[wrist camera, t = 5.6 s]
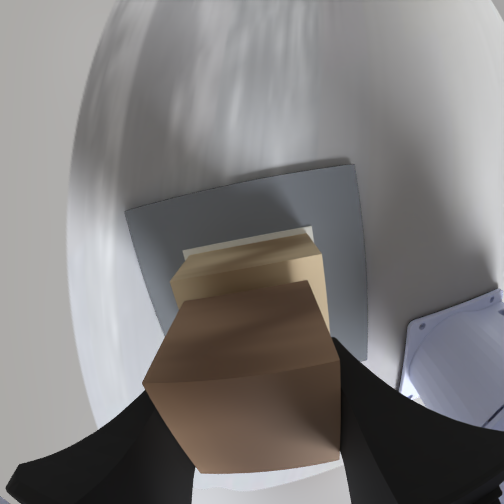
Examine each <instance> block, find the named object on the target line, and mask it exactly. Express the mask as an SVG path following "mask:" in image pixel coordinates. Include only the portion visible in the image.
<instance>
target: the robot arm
mask: <svg viewBox="0 0 504 504" xmlns="http://www.w3.org/2000/svg"><path fill="white" fill-rule="evenodd" d="M502 297H503V291H502V290H501V289H496V290H494V291H491V292H489V293H487V294H484V295H482V296H479V297H477V298H474V299H472V300H469V301H467V302H464V303H461V304H459V305H456V306H453V307H451V308H448V309H445V310H442V311H439V312H437V313H434V314H431V315H428V316H425V317H421V318H418V319H415V320H413V321H411V322H410V324H409V325H408V329H407V339H406V348H405V356H404V363H403V370H402V376H401V382H400V388H399V392H398V391H397V390H395V389H394V388H392V387H391V386H389V385H388V384H387V383H385V382H384V381H383V380H381V379H380V378H379V377H377V376H376V375H375V374H374V373H372V372H371V371H370V370H369V369H368V368H367V367H365V366H364V365H363V364H362V363H361V362H360V361H359V360H357V359H356V358H355V357H354V356H353V355H352V354H351V353H350V352H349V351H348V350H347V349H346V348H345V347H344V346H343V345H342V344H341V343H340V341H339V340H338V339H337V338H335V337H331V338H332V341H333V343H334V346H335V348H336V351H337V354H338V356H339V359H340V379H341V428H340V452H341V455H342V459H343V462H344V466H345V471H346V476H347V481H348V486H349V492H350V498H351V504H504V303H503V302H502ZM422 323H423V324H422ZM421 324H422V325H421ZM420 325H421V326H420ZM419 326H420V327H419ZM418 397H420V398H421V399H422V401H423V403H424V404H425V406H426V407H424V406H422V405H420V404H418V403H416V402H415V401H413V399H415V398H418ZM195 467H196V466H195V465H194V464H193V462H192V461H191V460H190V458H189V457H188V456H187V454H186V453H185V452H184V450H183V449H182V447H181V446H180V444H179V443H178V441H177V440H176V439H175V437H174V436H173V434H172V433H171V431H170V430H169V428H168V426H167V425H166V423H165V422H164V420H163V419H162V417H161V415H160V414H159V412H158V410H157V409H156V407H155V405H154V404H153V402H152V400H151V399H150V397H149V395H148V393H147V392H146V390H145V391H144V392H143V393H142V394H141V395H140V396H139V397H137V398H136V399H135V400H134V401H133V402H132V403H131V404H130V405H129V406H128V407H126V408H125V409H124V410H123V411H122V412H121V413H120V414H119V415H117V416H116V417H115V418H114V419H112V420H111V421H110V422H109V423H107V424H106V425H104V426H103V427H102V428H100V429H99V430H97V431H96V432H94V433H93V434H91V435H89V436H88V437H86V438H84V439H83V440H81V441H79V442H77V443H76V444H74V445H72V446H70V447H68V448H66V449H64V450H61V451H59V452H57V453H54V454H52V455H49V456H46V457H44V458H40V459H37V460H34V461H30V462H27V463H22V464H19V465H18V467H17V469H16V471H15V472H14V474H13V475H12V478H11V479H10V481H9V482H8V484H7V486H6V490H7V492H8V493H9V494H10V495H11V496H12V497H13V498H15V499H16V500H17V501H18V502H19V503H21V504H191V502H192V488H193V478H194V472H195ZM0 504H9V503H8V502H7V501H6V500H5V499H3V498H2V497H1V496H0Z"/></svg>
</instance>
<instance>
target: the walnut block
mask: <svg viewBox="0 0 504 504" xmlns="http://www.w3.org/2000/svg"><path fill="white" fill-rule="evenodd" d="M142 384H143V386H144V388H145V390H146V392H147V393H148V395H149V397H150V399H151V400H152V402H153V404H154V405H155V407H156V409H157V410H158V412H159V414H160V415H161V417H162V419H163V420H164V422H165V423H166V425H167V426H168V428H169V430H170V431H171V433H172V434H173V436H174V437H175V439H176V440H177V441H178V443H179V444H180V446H181V447H182V449H183V450H184V452H185V453H186V454H187V456H188V457H189V458H190V460H191V461H192V462H193V464H194V465H195V466H196V468H197V469H198V470H199V472H200V473H204V474H231V473H253V472H266V471H276V470H285V469H292V468H299V467H305V466H311V465H317V464H322V463H327V462H332V461H336V460H339V456H340V428H341V379H340V359H339V356H338V354H337V351H336V348H335V346H334V343H333V341H332V338H331V336H330V333H329V331H328V328H327V326H326V323H325V321H324V318H323V316H322V313H321V311H320V308H319V306H318V304H317V301H316V299H315V296H314V294H313V292H312V289H311V287H310V284H309V282H308V280H303V281H298V282H293V283H287V284H282V285H277V286H271V287H266V288H260V289H254V290H249V291H243V292H237V293H231V294H225V295H219V296H213V297H206V298H200V299H194V300H187V301H184V302H183V304H182V305H181V307H180V309H179V311H178V313H177V315H176V317H175V319H174V321H173V323H172V325H171V326H170V328H169V330H168V332H167V334H166V336H165V338H164V340H163V342H162V344H161V346H160V348H159V350H158V352H157V354H156V356H155V358H154V360H153V362H152V364H151V366H150V368H149V370H148V372H147V374H146V376H145V378H144V380H143V382H142Z"/></svg>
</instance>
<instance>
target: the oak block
mask: <svg viewBox="0 0 504 504" xmlns="http://www.w3.org/2000/svg"><path fill="white" fill-rule="evenodd" d="M303 280H308V282H309V284H310V287H311V289H312V292H313V294H314V296H315V299H316V301H317V304H318V306H319V308H320V311H321V313H322V316H323V318H324V321H325V323H326V326H327V328H328V331H329V333H330V327H329V315H328V304H327V294H326V285H325V276H324V267H323V259H322V253H321V252H320V251H319V249H318V248H317V246H316V245H315V244H314V242H313V241H312V240H311V238H310V237H309V235H308V234H307V233H304V234H299V235H293V236H288V237H283V238H277V239H272V240H267V241H261V242H256V243H251V244H246V245H240V246H235V247H230V248H225V249H219V250H214V251H209V252H204V253H199V254H194V255H189V256H188V258H187V259H186V260H185V262H184V263H183V264H182V266H181V267H180V268H179V270H178V271H177V272H176V274H175V275H174V276H173V278H172V279H171V280H170V284H171V288H172V291H173V294H174V297H175V300H176V303H177V306H178V309H180V307H181V305H182V304H183V302H184V301H187V300H194V299H200V298H206V297H213V296H219V295H225V294H231V293H237V292H243V291H249V290H254V289H260V288H266V287H271V286H277V285H282V284H287V283H293V282H298V281H303Z"/></svg>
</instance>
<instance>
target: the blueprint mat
mask: <svg viewBox="0 0 504 504" xmlns="http://www.w3.org/2000/svg"><path fill="white" fill-rule="evenodd" d="M125 216H126V220H127V223H128V227H129V231H130V234H131V238H132V242H133V245H134V248H135V252H136V255H137V258H138V262H139V265H140V268H141V271H142V274H143V277H144V280H145V283H146V286H147V289H148V292H149V295H150V298H151V301H152V304H153V306H154V309H155V312H156V315H157V317H158V320H159V323H160V325H161V328H162V330H163V333H164V335H165V336H166V334H167V332H168V330H169V328H170V326H171V325H172V323H173V321H174V319H175V317H176V315H177V313H178V311H179V309H178V306H177V303H176V300H175V297H174V294H173V291H172V288H171V284H170V280H171V279H172V278H173V276H174V275H175V274H176V272H177V271H178V270H179V268H180V267H181V266H182V264H183V263H184V262H185V260H186V259H187V258H188V256H189V255H194V254H199V253H204V252H209V251H214V250H219V249H225V248H230V247H235V246H240V245H246V244H251V243H256V242H261V241H267V240H272V239H277V238H283V237H288V236H293V235H299V234H304V233H307V234H308V235H309V237H310V238H311V240H312V241H313V242H314V244H315V245H316V246H317V248H318V249H319V251H320V252H321V253H322V259H323V267H324V276H325V285H326V294H327V304H328V315H329V327H330V336H331V337H335V338H337V339H338V340H339V341H340V343H341V344H342V345H343V346H344V347H345V348H346V349H347V350H348V351H349V352H350V353H351V354H352V355H353V356H354V357H355V358H356V359H357V360H359V361H360V362H361V361H365V360H367V345H368V305H367V277H366V260H365V246H364V235H363V225H362V215H361V207H360V199H359V192H358V185H357V178H356V171H355V165H354V164H348V165H341V166H334V167H327V168H320V169H313V170H307V171H301V172H295V173H289V174H283V175H278V176H272V177H267V178H261V179H256V180H251V181H246V182H241V183H236V184H232V185H227V186H222V187H218V188H213V189H209V190H204V191H200V192H196V193H192V194H187V195H183V196H179V197H175V198H171V199H167V200H164V201H160V202H156V203H152V204H149V205H145V206H141V207H138V208H134V209H131V210H127V211H125Z"/></svg>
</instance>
